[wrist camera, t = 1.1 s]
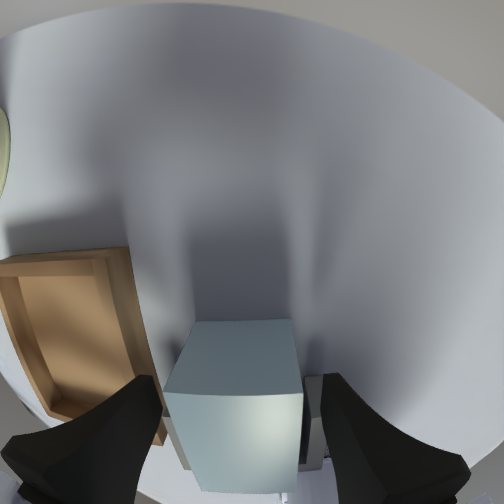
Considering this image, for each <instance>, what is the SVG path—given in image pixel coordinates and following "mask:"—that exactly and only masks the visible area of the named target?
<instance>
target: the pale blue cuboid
mask: <svg viewBox="0 0 504 504" xmlns="http://www.w3.org/2000/svg"><path fill="white" fill-rule="evenodd" d="M162 393H163V396H164V399H165V402H166V405H167V408H168V411H169V414H170V416H171V419H172V422H173V425H174V427H175V430H176V433H177V435H178V438H179V441H180V443H181V446H182V448H183V451H184V453H185V455H186V458H187V460H188V462H189V465H190V467H191V469H192V472H193V474H194V476H195V478H196V480H197V483H198V485H199V487H200V489H201V491H209V492H222V493H243V494H270V493H291V492H295V490H296V481H297V472H298V461H299V450H300V438H301V425H302V410H303V387H302V381H301V375H300V369H299V363H298V357H297V351H296V346H295V340H294V334H293V329H292V323H291V318H287V319H269V320H244V321H196V323H195V325H194V327H193V329H192V331H191V333H190V335H189V337H188V339H187V341H186V343H185V345H184V348H183V350H182V352H181V354H180V356H179V358H178V360H177V362H176V364H175V366H174V368H173V371H172V373H171V375H170V377H169V379H168V381H167V383H166V385H165V387H164V390H163V392H162Z"/></svg>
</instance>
